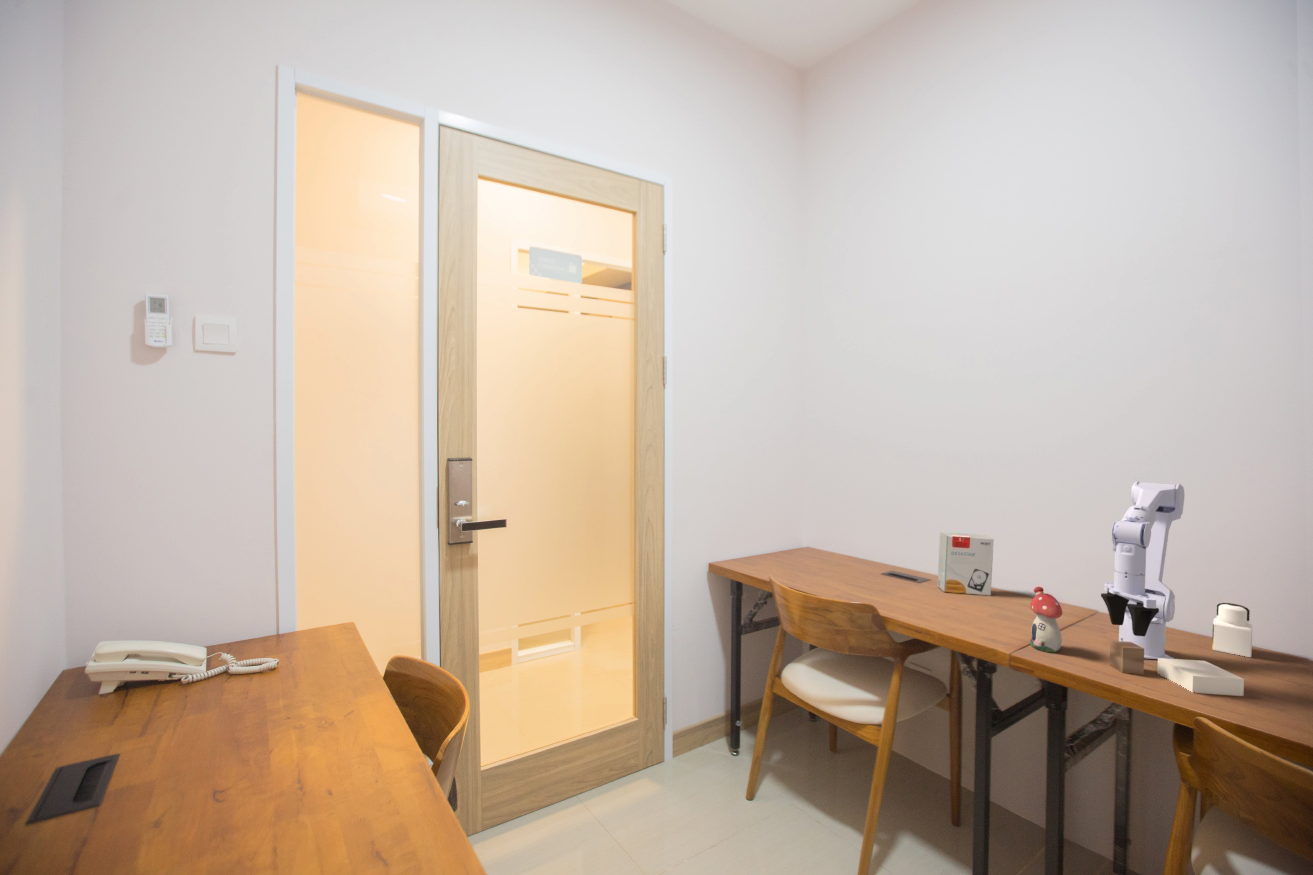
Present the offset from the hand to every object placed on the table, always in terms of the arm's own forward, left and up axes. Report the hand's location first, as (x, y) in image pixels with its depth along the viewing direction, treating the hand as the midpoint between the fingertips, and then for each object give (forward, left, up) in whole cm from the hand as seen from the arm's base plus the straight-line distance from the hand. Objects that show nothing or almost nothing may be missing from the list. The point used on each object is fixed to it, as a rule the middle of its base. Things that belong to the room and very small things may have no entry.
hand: (1127, 629), depth 136 cm
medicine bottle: (-19, +37, -10) cm, 43 cm away
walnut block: (0, 0, -10) cm, 10 cm away
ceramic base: (+6, +11, -10) cm, 16 cm away
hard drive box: (-66, -11, -10) cm, 68 cm away
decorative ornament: (-12, -12, -10) cm, 20 cm away
